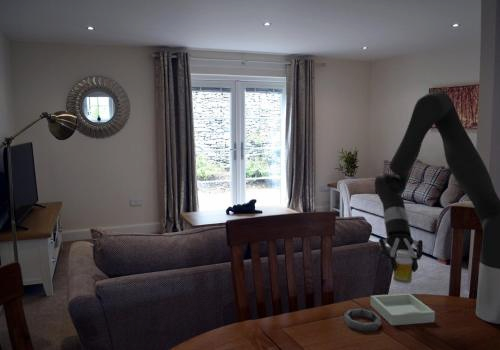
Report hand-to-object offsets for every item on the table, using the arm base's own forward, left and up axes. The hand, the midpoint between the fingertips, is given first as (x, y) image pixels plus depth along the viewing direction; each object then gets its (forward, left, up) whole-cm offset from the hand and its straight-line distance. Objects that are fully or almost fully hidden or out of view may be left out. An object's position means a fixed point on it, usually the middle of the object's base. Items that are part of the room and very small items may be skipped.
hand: (404, 270), depth 124 cm
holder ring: (+15, +2, -15) cm, 21 cm away
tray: (0, -2, -15) cm, 15 cm away
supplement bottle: (0, -2, -4) cm, 5 cm away
